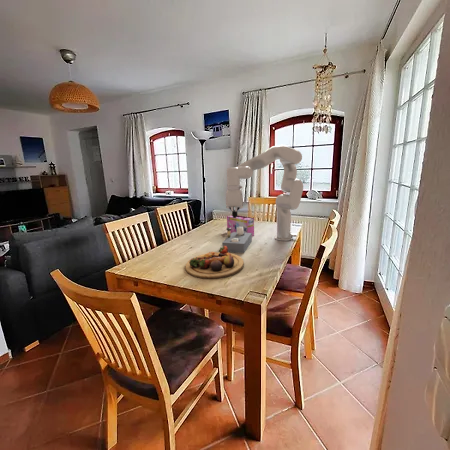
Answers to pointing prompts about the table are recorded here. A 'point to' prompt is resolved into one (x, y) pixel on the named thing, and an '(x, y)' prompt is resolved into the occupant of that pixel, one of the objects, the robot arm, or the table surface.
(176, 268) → the table surface
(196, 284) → the table surface
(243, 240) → the panel
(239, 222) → the gum box
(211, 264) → the wooden plate with food
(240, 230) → the knob
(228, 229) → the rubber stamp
